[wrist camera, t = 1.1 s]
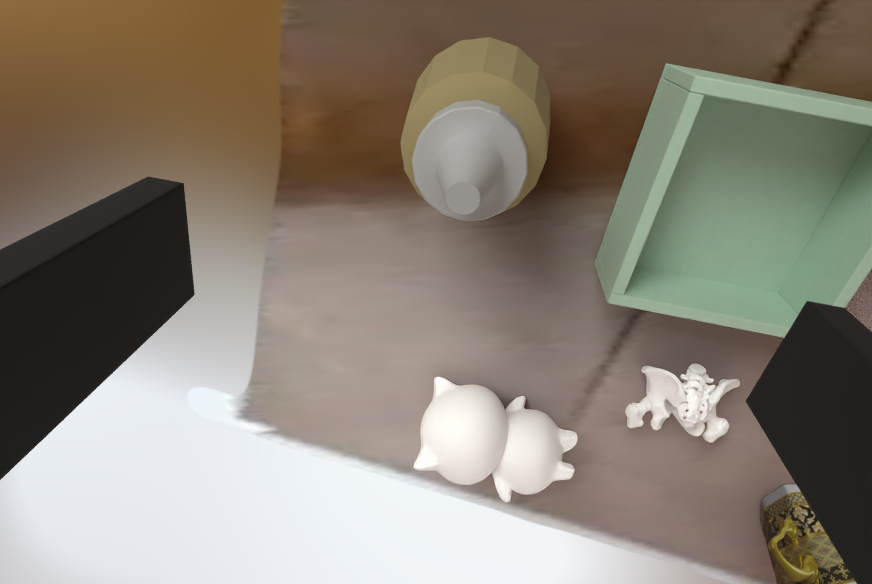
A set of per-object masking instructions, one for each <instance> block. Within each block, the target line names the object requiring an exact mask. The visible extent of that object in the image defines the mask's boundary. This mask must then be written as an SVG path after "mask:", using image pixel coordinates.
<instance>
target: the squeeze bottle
mask: <svg viewBox="0 0 872 584" xmlns="http://www.w3.org/2000/svg"><path fill="white" fill-rule="evenodd" d="M549 131H550V92H549V89H548V87H547V85H546V82H545V80H544V78H543V75H542V73H541V70H540V68H539V66H538V65H537V64H536V63H535V62H533V61H532V60H531V59H530V58H529V57H528V56H527V55H526V54H525V53H524V52H523V51H522V50H521V49H520V48H519V47H518V46H515V45H512V44H509V43H506V42H503V41H500V40H497V39H494V38H491V37H487V38H478V39H469V40H461V41H459V42H457V43H456V44H454V45H452V46H451V47H449V48H447V49H445V50H444V51H442V52H440V53H439V54H437V55H435V57H434V58H433V59H432V61H431V62H430V63H429V65H428V66H427V68H426V69H425V70H424V72H423V73H422V74H421V76H420V77H419V79H418V81H417V84H416V87H415V91H414V94H413V97H412V101H411V104H410V107H409V111H408V114H407V118H406V122H405V126H404V130H403V134H402V138H401V142H400V143H401V150H402V157H403V164H404V170H405V172H406V174H407V176H408V177H409V179H410V181H411V183H412V184H413V186H414V188H415V190H416V191H417V193H418V194H419V195H420V196H421V197H422V198H424V199H425V201H426V202H427V203H429V204H430V205H431V206H432V207H434V208H435V209H436V210H437V211H439V212H440V213H441V214H442V215H445V216H448V217H452V218H455V219H458V220H461V221H473V220H485V219H487V218H490V217H493V216H495V215H498V214H500V213H502V212H504V211H506V210H508V209H511V208H513V207H515V206H517V205H518V204H519V202H520V201H521V200H522V199H523V198H524V197H525V196H526V195H527V194H528V193H529V192H530V191H531V190H532V189H533V188H534V187H535V186H536V183H537V181H538V179H539V176H540V174H541V171H542V169H543V166H544V164H545V161H546V158H547V149H548V140H549Z"/></svg>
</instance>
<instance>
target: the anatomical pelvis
mask: <svg viewBox="0 0 872 584" xmlns="http://www.w3.org/2000/svg"><path fill="white" fill-rule="evenodd" d="M641 371H642V372H643V373H644V374H645V375H646V380H647V385H646V389H647V392H646V393H647V396H646V397H645V398H643V399H642V400H641V402H640V403H635V402H634V403H631V404H629V405H628V406H627V408H626V411H625V413H626V415H627V426H628V427H629V428H635V427H641V426H642V425H643V424H644V422H643V421H642V417H643V415H644V414H645V413H646V412H647V411H652V412H651V413H652V414H653V418H652V420H651V427H652V428H653V429H654V430H659V429H661V426H662V424H663V422H664V421H665V420H666V418H669V415H670V414H671V413H673V414H674V416H675V417H676V418H677V420H678V421H679V423H680V424H681V425H682V426H683V427H684V428H685V430H686V431H687V432H688V433H689V434H691V435H692V436H700V435H701V434H702V433H703V432H704V430H705V425H704V422H706V424H707V427H706V431H705V432H704V433H703V435H702V437H703V438H704V439H705V440H706V441H707V442H711V443H712V442H714V441H715V440H716V439H717V438H719V437H720V436H722V435H724V434H725V433H726V432H727V431H728V429H729V423H728V422H727V420H726V419H724V418H718V417H717V416H716V405H717V403H718V402H719V400H720V398H721V397H722V396H723V395H724V394H725V393H726V392H728V391H729V390H731V389H733V388H737V387H739V386H740V381H739V380H738V379H730V380H727V379H722V380H720V382H719V385H718V386H717V387H716V386H715V385H710V386H708V385H707V384H706V383H712V382H714V379H712V378H711V379H710V378H709V377H708V375H707V374H706V369H705V368H704V367H703V366H702V365H699V364H696V363H694V364H691V365H690V366H689V368H688V370H687V373H686V375H684V374H682V375H681V376H680V378H681V379H684V383H681V382H680V380H679V379H678V378H677V377H676V376H675V375H674V374H672V373H671V372H668V371H666V370H663V369H660V368H655V367H652V366H643V367H642V369H641ZM661 378H662V379H661ZM715 387H716V389H715ZM685 392H686V393H687V395H686V394H685ZM686 409H687V410H688V412H686ZM683 417H686V419H683Z"/></svg>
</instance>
